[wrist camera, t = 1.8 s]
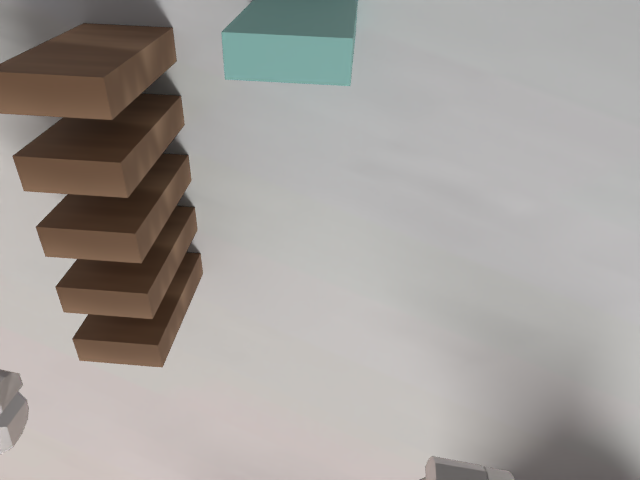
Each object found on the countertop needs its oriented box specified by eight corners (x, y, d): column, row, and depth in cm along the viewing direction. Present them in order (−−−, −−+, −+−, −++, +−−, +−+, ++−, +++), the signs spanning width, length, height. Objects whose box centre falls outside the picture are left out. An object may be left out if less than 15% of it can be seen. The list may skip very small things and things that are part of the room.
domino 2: (184, 124, 32) (127, 198, 25) (104, 120, 32) (23, 191, 25) (181, 95, 31) (120, 162, 24) (98, 91, 31) (12, 156, 24)
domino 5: (202, 273, 38) (162, 367, 31) (135, 268, 39) (79, 360, 31) (200, 253, 37) (157, 345, 30) (131, 248, 38) (72, 338, 30)
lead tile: (355, 32, 28) (350, 86, 21) (262, 28, 28) (224, 79, 21) (358, -4, 27) (353, 38, 20) (261, -9, 27) (221, 31, 20)
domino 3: (191, 180, 34) (141, 263, 27) (115, 175, 34) (45, 256, 27) (188, 155, 33) (135, 233, 26) (110, 150, 33) (35, 226, 26)
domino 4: (197, 229, 36) (152, 319, 29) (126, 224, 37) (63, 312, 29) (194, 207, 35) (147, 293, 28) (121, 202, 36) (55, 286, 28)
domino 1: (176, 61, 30) (112, 120, 22) (90, 56, 30) (-2, 113, 23) (172, 27, 29) (103, 77, 21) (83, 23, 29) (-16, 71, 22)
